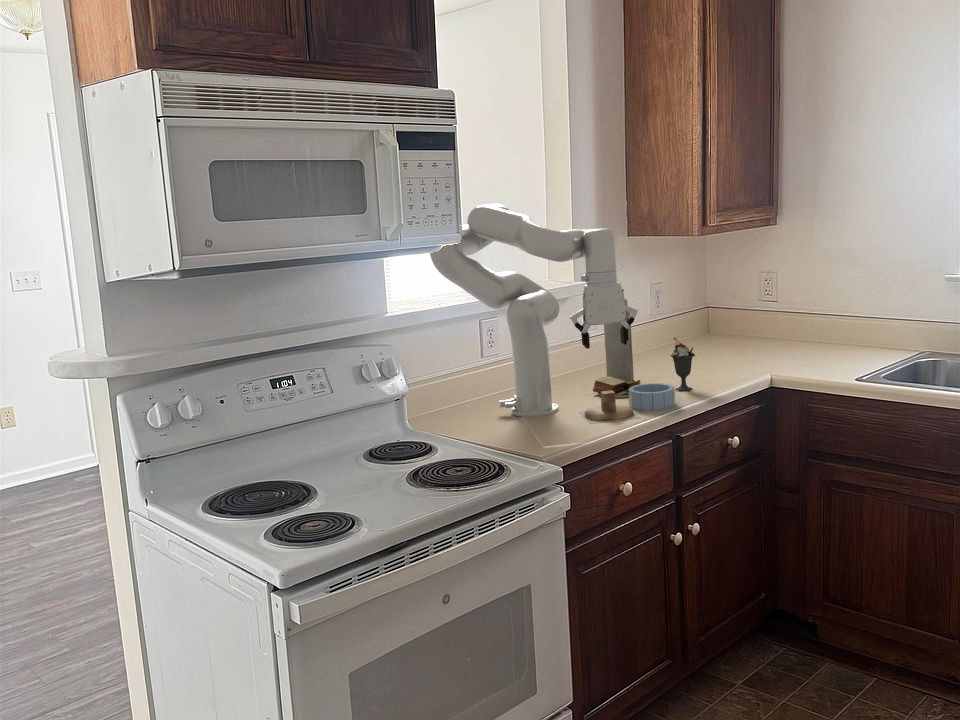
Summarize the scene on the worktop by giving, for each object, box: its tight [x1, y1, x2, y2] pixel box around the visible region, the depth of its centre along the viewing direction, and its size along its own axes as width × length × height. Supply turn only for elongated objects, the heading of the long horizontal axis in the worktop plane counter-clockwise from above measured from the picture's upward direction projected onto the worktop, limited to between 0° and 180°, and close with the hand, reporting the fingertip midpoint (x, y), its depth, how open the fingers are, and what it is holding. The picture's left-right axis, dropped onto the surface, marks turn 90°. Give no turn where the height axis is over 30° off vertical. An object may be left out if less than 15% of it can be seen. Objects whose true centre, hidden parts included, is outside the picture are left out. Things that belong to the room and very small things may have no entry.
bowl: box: [628, 382, 676, 412], centre depth 233 cm, size 12×12×5 cm
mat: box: [578, 410, 642, 425], centre depth 227 cm, size 13×13×1 cm
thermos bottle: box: [603, 288, 635, 382], centre depth 264 cm, size 8×8×28 cm
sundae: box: [670, 337, 696, 392], centre depth 248 cm, size 7×7×15 cm
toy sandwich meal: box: [592, 376, 641, 399], centre depth 250 cm, size 12×14×5 cm
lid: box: [584, 390, 635, 422], centre depth 226 cm, size 12×12×6 cm
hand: (605, 345), depth 224 cm, fingers open, 9 cm apart
